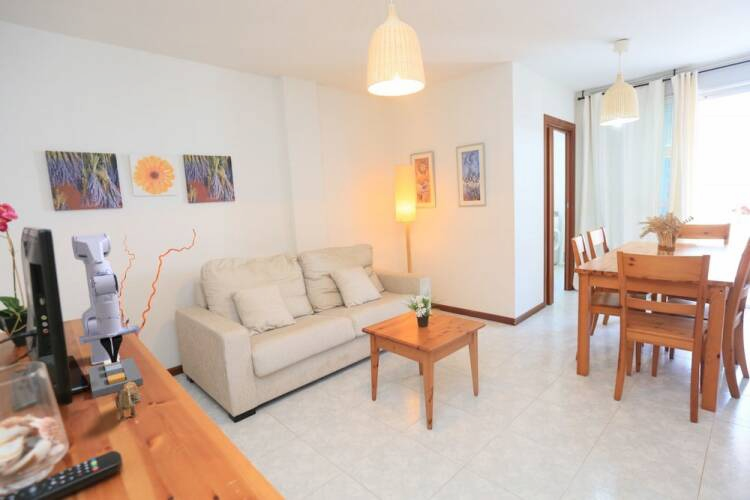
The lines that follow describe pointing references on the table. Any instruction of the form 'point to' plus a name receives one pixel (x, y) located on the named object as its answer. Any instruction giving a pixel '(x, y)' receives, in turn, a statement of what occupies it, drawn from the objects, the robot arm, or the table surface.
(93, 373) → the button board
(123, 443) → the table surface
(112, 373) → the slate-blue button
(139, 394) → the lion figurine
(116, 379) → the orange button
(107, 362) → the cream button
